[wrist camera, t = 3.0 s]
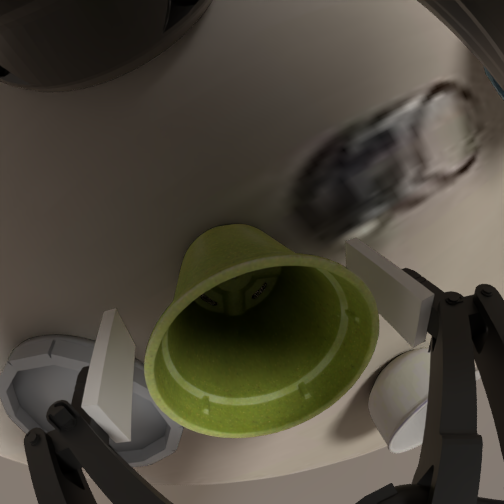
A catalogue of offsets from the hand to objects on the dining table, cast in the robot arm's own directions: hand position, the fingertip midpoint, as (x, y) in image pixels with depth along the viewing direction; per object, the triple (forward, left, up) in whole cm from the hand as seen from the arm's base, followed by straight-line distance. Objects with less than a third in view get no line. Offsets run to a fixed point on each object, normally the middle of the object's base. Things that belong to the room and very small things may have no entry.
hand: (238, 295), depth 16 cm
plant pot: (0, 0, -3) cm, 3 cm away
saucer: (+9, -15, -3) cm, 18 cm away
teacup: (+18, +16, -3) cm, 24 cm away
